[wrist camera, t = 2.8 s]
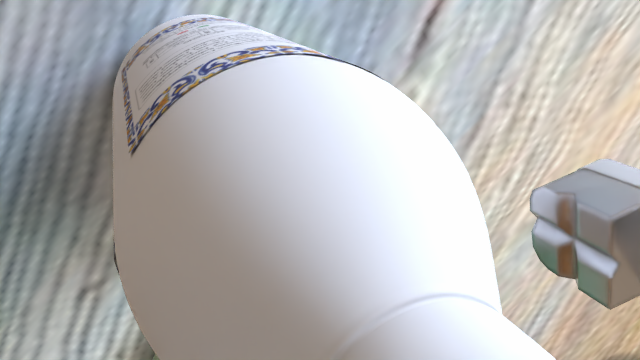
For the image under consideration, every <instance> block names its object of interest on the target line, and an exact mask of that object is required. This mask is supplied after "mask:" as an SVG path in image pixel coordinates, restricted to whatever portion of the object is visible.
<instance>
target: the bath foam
mask: <svg viewBox="0 0 640 360" xmlns="http://www.w3.org/2000/svg"><path fill="white" fill-rule="evenodd" d="M113 225H114V261H115V264H116V267H117V270H118V273H119V275H120V279H121V282H122V286H123V289H124V292H125V295H126V298H127V301H128V303H129V306H130V308H131V311H132V313H133V315H134V317H135V319H136V321H137V324H138V326H139V328H140V330H141V331H142V333H143V335H144V336H145V338H146V340H147V341H148V343H149V344H150V346H151V348H152V349H153V351H154V352H155V354H156V355H157V356H158V358H159V359H160V360H556V359H555V358H554V357H552V356H551V355H550V354H549V353H548V352H547V351H545V350H544V349H543V348H542V347H541V346H539V345H538V344H537V343H536V342H535V341H534V340H532V339H531V338H530V337H529V336H528V335H526V334H525V333H524V332H523V331H521V330H520V329H519V328H518V327H517V326H515V325H514V324H513V323H512V322H510V321H509V320H508V319H506V318H505V317H504V316H502V310H501V304H500V298H499V291H498V285H497V279H496V273H495V267H494V261H493V256H492V250H491V245H490V240H489V236H488V231H487V227H486V222H485V219H484V215H483V212H482V209H481V205H480V202H479V199H478V196H477V193H476V191H475V188H474V186H473V184H472V181H471V179H470V177H469V175H468V172H467V170H466V168H465V166H464V164H463V163H462V161H461V159H460V158H459V156H458V154H457V153H456V151H455V150H454V148H453V146H452V145H451V143H450V142H449V140H448V139H447V138H446V137H445V135H444V134H443V133H442V132H441V130H440V129H439V128H438V127H437V126H436V124H435V123H434V122H433V121H432V120H431V119H430V118H429V117H428V116H427V114H426V113H424V112H423V111H422V110H421V109H420V108H419V107H418V106H417V105H416V104H415V103H414V102H413V101H412V100H410V99H409V98H408V97H407V96H405V95H404V94H403V93H402V92H400V91H399V90H398V89H396V88H395V87H393V86H392V85H390V84H389V83H388V82H386V81H385V80H383V79H382V78H380V77H379V76H377V75H375V74H373V73H372V72H370V71H367V70H365V69H363V68H361V67H358V66H356V65H353V64H350V63H348V62H345V61H342V60H340V59H337V58H334V57H332V56H329V55H326V54H324V53H321V52H318V51H316V50H313V49H310V48H308V47H305V46H302V45H299V44H297V43H294V42H291V41H289V40H286V39H283V38H281V37H278V36H275V35H273V34H270V33H267V32H265V31H262V30H259V29H257V28H254V27H251V26H249V25H246V24H243V23H240V22H237V21H234V20H231V19H227V18H223V17H219V16H214V15H188V16H183V17H179V18H175V19H172V20H169V21H167V22H165V23H162V24H161V25H159V26H157V27H155V28H153V29H152V30H150V31H149V32H148V33H146V34H145V35H144V36H143V37H142V38H141V39H139V40H138V41H137V43H136V44H135V45H134V46H133V47H132V48H131V50H130V51H129V52H128V54H127V55H126V57H125V59H124V60H123V62H122V64H121V66H120V69H119V71H118V74H117V77H116V81H115V85H114V91H113Z"/></svg>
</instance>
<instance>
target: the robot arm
mask: <svg viewBox="0 0 640 360" xmlns="http://www.w3.org/2000/svg"><path fill="white" fill-rule="evenodd" d="M530 211H531V212H532V213H533V214H534V215H535V216H536V217H537V220H536V223H535V225H534V227H533V229H532V241H533V247H534V249H535V251H536V253H537V255H538V257H539V259H540V261H541V262H542V263H543V264H544V265H545V266H546V267H547V268H548V269H549V270H550V271H552V272H553V273H555V274H556V275H558V276H561V277H566V278H572V279H575V280H576V283H577V286H578V289H579V290H581V291H582V292H584V293H585V294H587V295H588V296H590V297H591V298H593V299H594V300H596V301H598V302H599V303H601V304H602V305H604V306H605V307H607V308H608V309H610V310H611V309H613V308H615V307H617V306H619V305H621V304H623V303H625V302H627V301H629V300H631V299H633V298H635V297H638V296H640V169H637V168H634V167H631V166H628V165H625V164H622V163H619V162H617V161H614V160H611V159H599V160H597V161H594V162H592V163H590V164H588V165H586V166H584V167H582V168H579V169H578V170H577V171H575V172H573V173H571V174H568V175H566V176H564V177H561V178H559V179H557V180H555V181H552V182H550V183H548V184H546V185H543V186H541V187H539V188H536V189H534V190H533V191H532V194H531V197H530Z"/></svg>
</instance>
